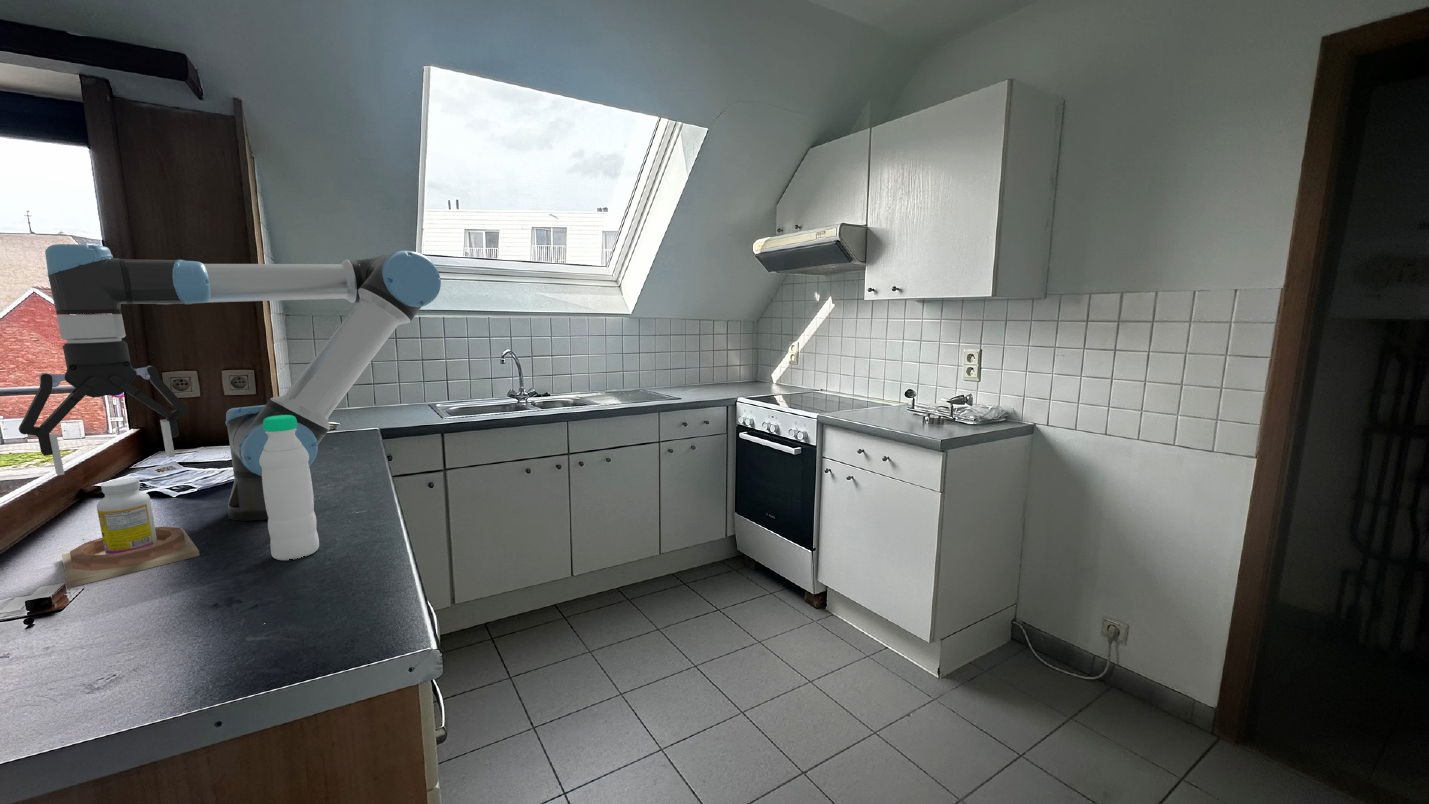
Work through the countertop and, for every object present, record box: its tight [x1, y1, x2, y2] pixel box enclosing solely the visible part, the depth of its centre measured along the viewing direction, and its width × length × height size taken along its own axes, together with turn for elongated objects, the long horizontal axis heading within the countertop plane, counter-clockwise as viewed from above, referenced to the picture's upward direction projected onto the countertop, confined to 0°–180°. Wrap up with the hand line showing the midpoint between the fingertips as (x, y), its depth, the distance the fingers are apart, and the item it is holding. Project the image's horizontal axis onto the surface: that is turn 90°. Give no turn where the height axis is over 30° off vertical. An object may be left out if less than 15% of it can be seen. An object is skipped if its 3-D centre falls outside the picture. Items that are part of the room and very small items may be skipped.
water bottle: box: [259, 415, 320, 561], centre depth 105 cm, size 7×7×25 cm
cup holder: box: [61, 526, 200, 588], centre depth 105 cm, size 16×16×3 cm
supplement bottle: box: [96, 477, 157, 554], centre depth 104 cm, size 7×7×13 cm
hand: (118, 464), depth 102 cm, fingers open, 13 cm apart
